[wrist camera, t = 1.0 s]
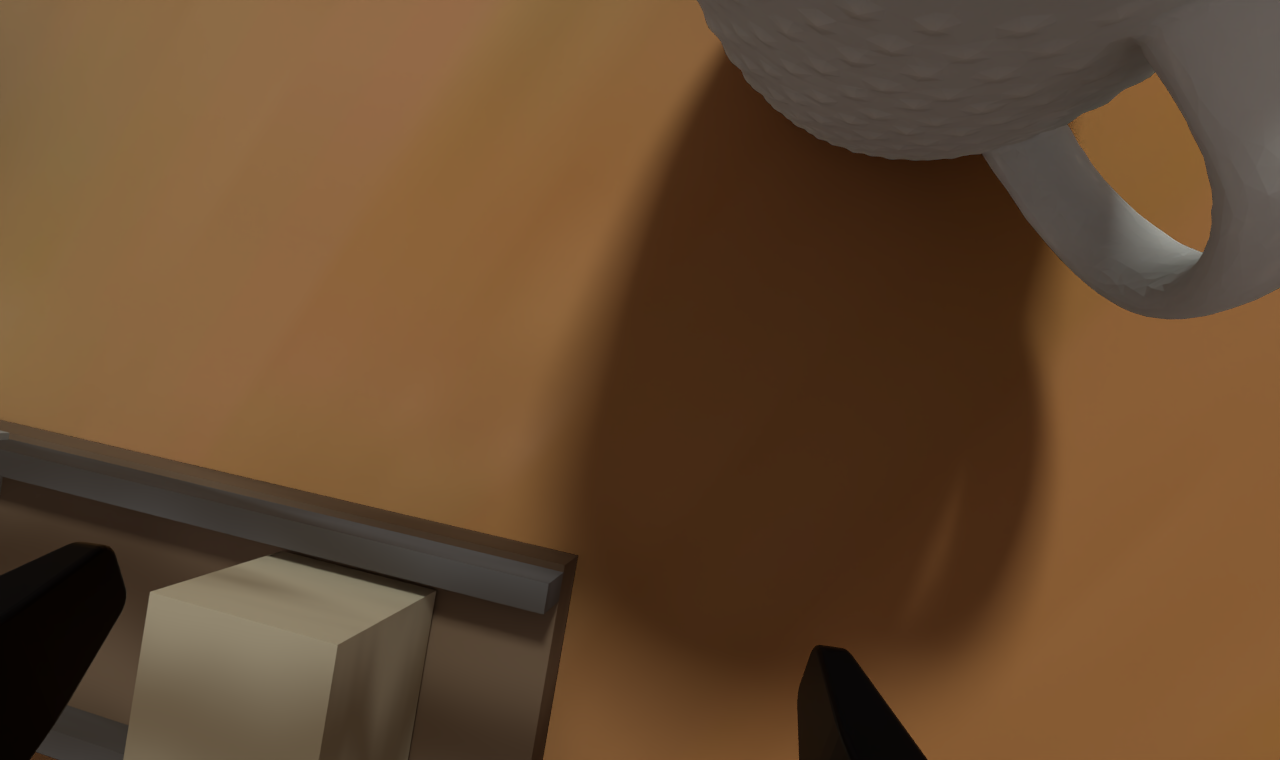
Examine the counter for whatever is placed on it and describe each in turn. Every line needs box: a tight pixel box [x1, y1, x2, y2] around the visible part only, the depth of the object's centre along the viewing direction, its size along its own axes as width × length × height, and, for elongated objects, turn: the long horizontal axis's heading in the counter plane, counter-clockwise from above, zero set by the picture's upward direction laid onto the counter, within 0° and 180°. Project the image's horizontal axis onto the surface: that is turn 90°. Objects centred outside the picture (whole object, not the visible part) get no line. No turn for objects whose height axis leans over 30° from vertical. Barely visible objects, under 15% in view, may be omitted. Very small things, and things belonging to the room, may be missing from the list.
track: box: [0, 420, 578, 760], centre depth 21 cm, size 9×24×6 cm, turn 80°
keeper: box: [123, 551, 436, 760], centre depth 19 cm, size 6×5×4 cm
